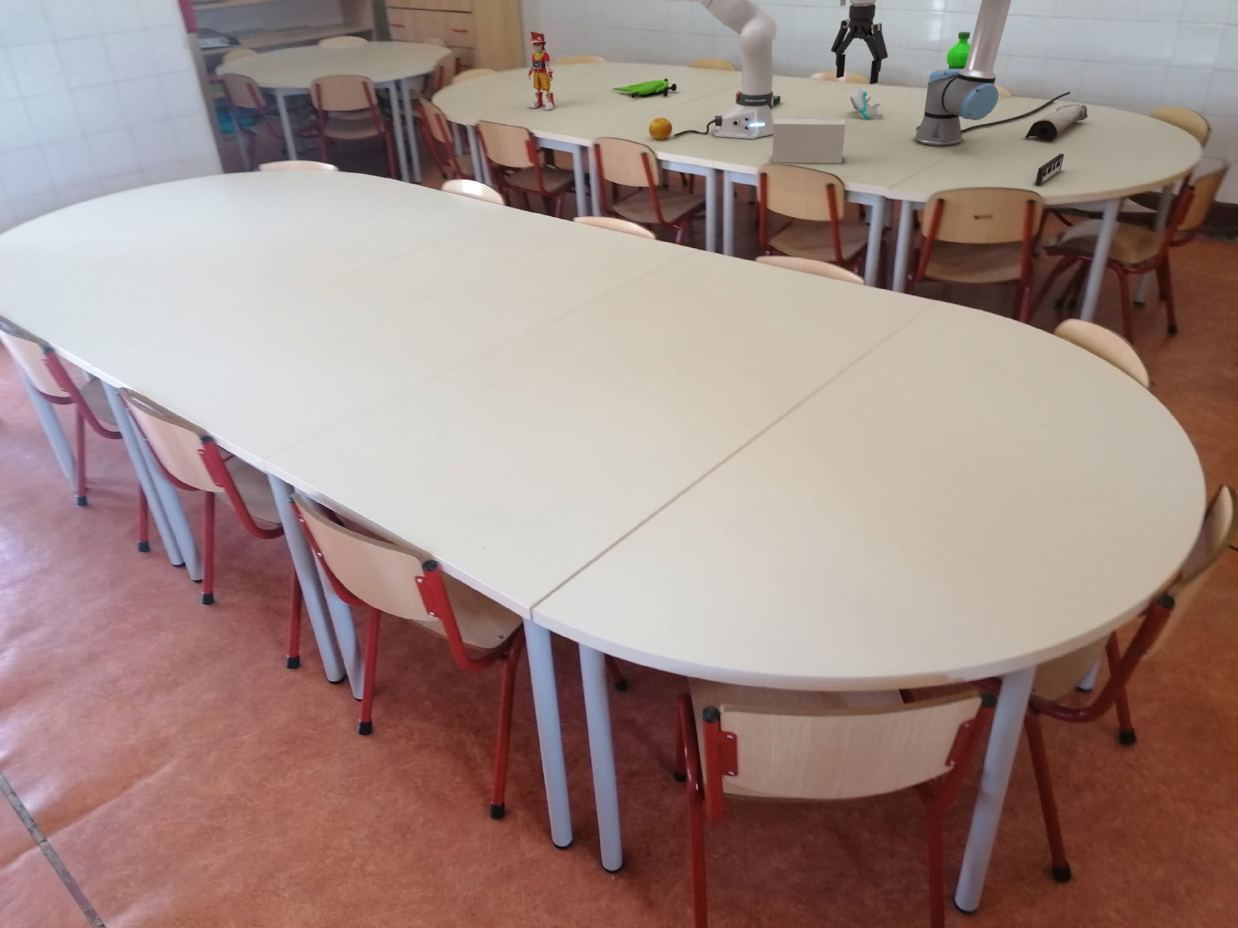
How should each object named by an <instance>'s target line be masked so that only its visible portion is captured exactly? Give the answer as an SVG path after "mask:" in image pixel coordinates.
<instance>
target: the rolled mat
mask: <svg viewBox="0 0 1238 928" xmlns="http://www.w3.org/2000/svg"><path fill="white" fill-rule="evenodd" d="M1088 116H1089V115H1088V108H1087V105H1085V104H1079V103H1075V104H1068V105H1062V106H1059V107H1057V108H1056V109H1055V111H1053V112H1052V113H1049V114H1048V115H1046V116H1044V117H1042V118H1040V119H1039V120H1037V121H1035V122H1033V124H1032V125H1031V126H1030V128H1029V130H1028V131H1027V133H1026V135H1025V137H1024V138H1025V139H1026V140H1027V139H1029V138H1030V137H1035V138H1037V139H1039V140H1040V141H1045V142H1053V141H1054V140H1055V139H1057V138H1058V137H1059V136H1060V135H1061V134H1062V133H1063V131H1064V130H1065V129H1067V128H1068V127H1069V126H1071V125H1072V124H1074V123H1076V122H1079V121H1080V122H1081V121H1085V120H1086V119H1087V118H1088Z"/></svg>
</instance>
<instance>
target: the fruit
mask: <svg viewBox="0 0 1238 928" xmlns="http://www.w3.org/2000/svg"><path fill="white" fill-rule="evenodd" d="M672 132H673V124H672V122H670V120H669V119H667V118H665V117H658V118H654V119H653V120H651V121H650V122H649V125H648V133H649V135H650V136H651V137H652V138H653V139H656V140H664V139H667V138H669V137H670V136H671V134H672Z"/></svg>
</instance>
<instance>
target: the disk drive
mask: <svg viewBox="0 0 1238 928" xmlns="http://www.w3.org/2000/svg"><path fill="white" fill-rule="evenodd" d="M780 102H781V96H780V95H774V94H773V106H772V107H774V106H776V105H778V104H780Z"/></svg>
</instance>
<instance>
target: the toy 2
mask: <svg viewBox="0 0 1238 928" xmlns="http://www.w3.org/2000/svg"><path fill="white" fill-rule="evenodd" d="M669 85H670V83H669V79H668V78H664V79H663V80H649V81H644V82H640V83H634V84H629V85H627V86H621V87H613V88H612V89H613V90H616V91H619V92H623V93H627V94H628V93H629V94H631V95H630V96H631V98H632V99H634V98H636V96H637V95H650V94H652V93H654V94H658V93H662V95H663V96H665V97H667V96H668V95H669V90H671V91H672V92H676V91H677V84H676V83H672V84H671V86H669Z"/></svg>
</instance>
